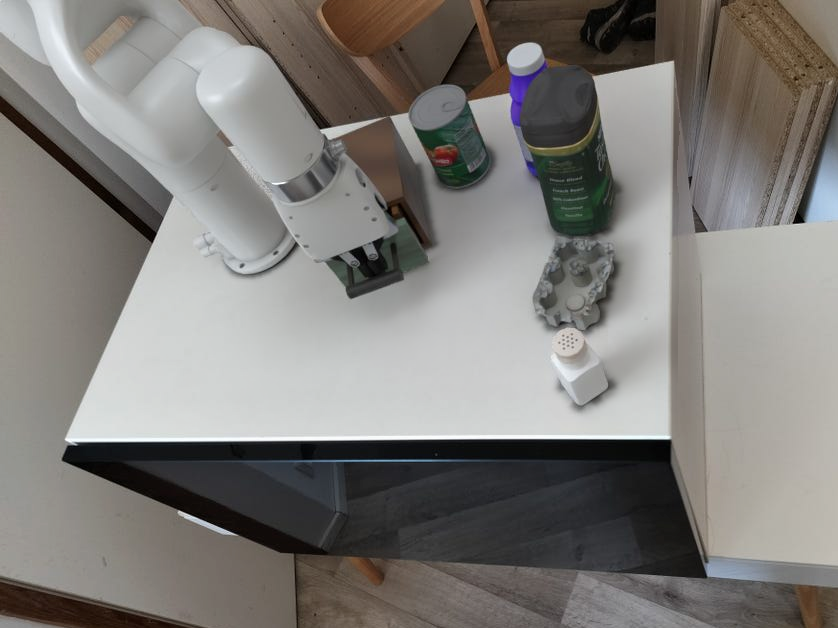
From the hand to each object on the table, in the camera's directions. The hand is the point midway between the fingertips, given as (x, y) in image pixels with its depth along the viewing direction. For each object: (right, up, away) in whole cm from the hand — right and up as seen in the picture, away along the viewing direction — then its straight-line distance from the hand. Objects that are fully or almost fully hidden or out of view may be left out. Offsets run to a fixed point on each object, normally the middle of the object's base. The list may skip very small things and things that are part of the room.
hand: (379, 274), depth 83 cm
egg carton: (+24, -3, -4) cm, 24 cm away
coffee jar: (+26, +8, +2) cm, 27 cm away
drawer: (0, +4, +7) cm, 8 cm away
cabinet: (-1, +9, +12) cm, 15 cm away
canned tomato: (+10, +16, +12) cm, 23 cm away
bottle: (+22, +15, +7) cm, 28 cm away
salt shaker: (+24, -13, -10) cm, 29 cm away
